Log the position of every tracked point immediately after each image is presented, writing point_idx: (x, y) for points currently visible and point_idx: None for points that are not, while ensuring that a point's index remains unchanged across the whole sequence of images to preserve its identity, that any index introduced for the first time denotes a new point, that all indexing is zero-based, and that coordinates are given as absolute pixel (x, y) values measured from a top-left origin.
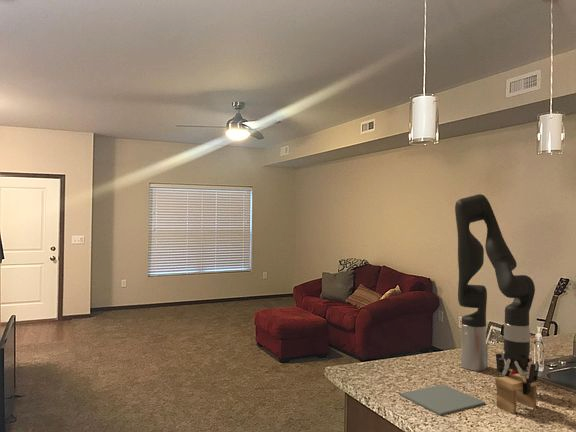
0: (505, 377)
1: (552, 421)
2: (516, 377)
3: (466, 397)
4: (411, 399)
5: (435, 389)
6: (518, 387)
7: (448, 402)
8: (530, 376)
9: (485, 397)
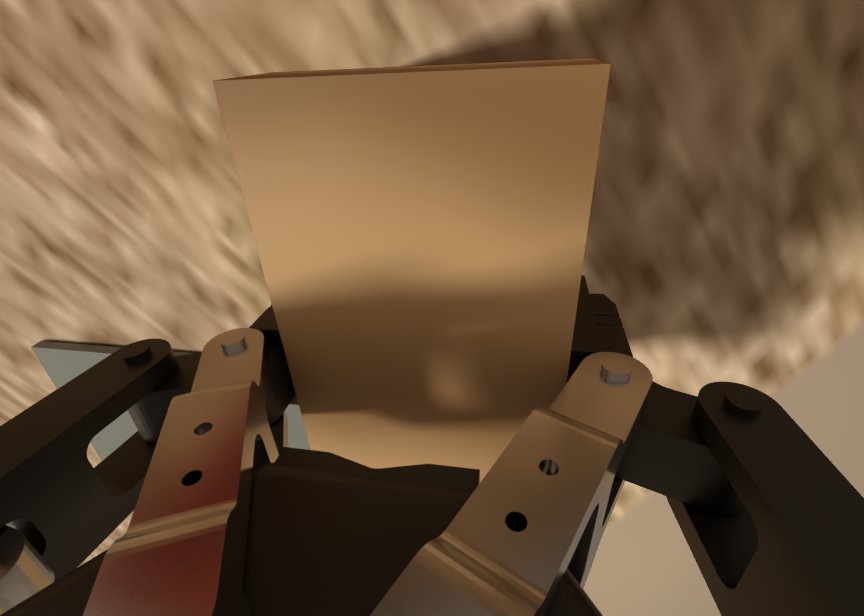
0: (339, 452)
1: (813, 235)
2: (382, 348)
3: None
4: None
5: (119, 434)
6: None
7: None
8: (737, 581)
9: (248, 274)
